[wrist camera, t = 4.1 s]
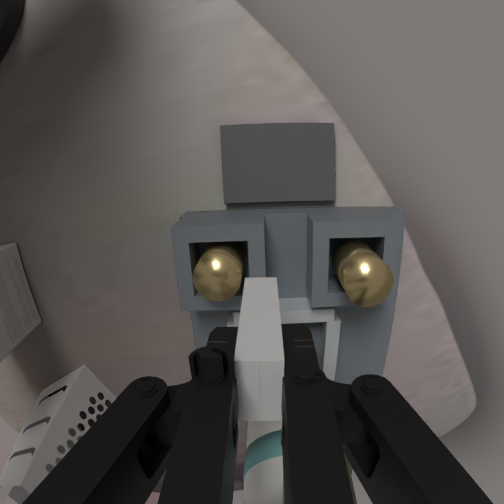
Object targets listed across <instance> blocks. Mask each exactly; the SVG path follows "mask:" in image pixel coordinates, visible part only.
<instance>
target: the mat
mask: <svg viewBox="0 0 504 504" xmlns="http://www.w3.org/2000/svg"><path fill="white" fill-rule="evenodd" d="M220 132H221V152H222V171H223V189H224V203H247V202H276V201H325V200H335V137H334V123H265V124H241V125H225V126H220Z"/></svg>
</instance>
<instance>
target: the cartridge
mask: <svg viewBox="0 0 504 504" xmlns="http://www.w3.org/2000/svg"><path fill="white" fill-rule="evenodd" d="M281 325H305V324H304V323H290V324H281ZM305 326H306V325H305ZM306 327H307V326H306ZM307 328H308V327H307ZM308 329H309V328H308ZM309 330H310V329H309ZM312 337H313V336H312ZM313 341H314V340H313ZM314 347H315V344H314ZM316 354H317V353H316ZM317 358H318V357H317ZM318 362H319V361H318ZM281 432H282V421H248V428H247V444H246V452H245V461H244V476H243V481H244V492H243V501H244V503H245V504H284V482H283V456H282V445H281Z"/></svg>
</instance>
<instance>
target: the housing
mask: <svg viewBox="0 0 504 504" xmlns="http://www.w3.org/2000/svg"><path fill="white" fill-rule="evenodd" d="M404 216H405V212H404V211H402V210H400V209H398V208H396V207H309V208H269V209H241V210H218V211H198V212H186V213H185V214H183V215H182V216H181V217H180V220H179V221H178V222H177V223H176V224H175V225H173V226H172V227H171V232H172V241H173V250H174V258H175V266H176V274H177V282H178V289H179V296H180V303H181V310H191V317H192V324H193V331H194V338H195V345H196V349H198V348H201V347H204V346H206V345H207V342H208V338H209V334H210V332H211V331H212V330H213V329H215V328H216V327H238V326H239V319H240V311H241V304H242V296H243V289H244V281H245V278H258V277H277V287H278V297H279V307H280V317H281V324H290V323H304V324H305V325H306V326H307V327H308V328H309V329H310V331H311V333H312V336H313V340H314V344H315V349H316V353H317V357H318V361H319V366H320V370H322V371H323V372H324V373H325V375H326V377H327V378H328V379H330V380H332V381H334V382H339V383H344V384H352V382H353V380H354V379H355V378H357V377H359V376H361V375H366V374H374V375H379V376H382V373H383V369H384V364H385V359H386V354H387V349H388V344H389V339H390V334H391V328H392V322H393V316H394V310H395V303H396V296H397V289H398V281H399V273H400V264H401V254H402V243H403V231H404ZM353 239H354V240H360V241H362V242H364V243H366V244H367V245H368V246H369V247H370V248H371V249H372V250H373V251H374V252H375V253H376V254H377V255H378V256H379V257H380V258H381V259H382V260H383V261H384V262H385V263H386V264H387V265H388V266H389V267H390V269H391V271H392V273H393V277H394V283H393V287H392V290H391V292H390V294H389V295H388V297H387V298H386V299H385V300H384V301H383V302H381V303H380V304H378V305H375V306H372V307H361V306H358V305H356V304H354V303H353V302H352V301H351V300H350V299H349V297H348V295H347V294H346V292H345V290H344V288H343V286H342V284H341V283H340V281H339V279H338V277H337V275H336V273H335V272H334V270H333V267H332V256H333V253H334V251H335V250H336V248H337V247H338V246H339V245H340V244H342V243H343V242H345V241H348V240H353ZM224 241H236V242H238V243H239V244H240V246H241V247H242V249H243V251H244V255H245V260H244V266H243V272H242V278H241V284H240V288H239V290H238V291H237V293H236V294H235V295H234V296H233V297H231V298H230V299H228V300H225V301H212V300H209V299H206V298H205V297H203V296H202V295H201V294H199V292H198V291H197V290H196V288H195V286H194V283H193V271H194V269H195V267H196V265H197V263H198V261H199V260H200V258H201V256H202V254H203V253H204V251H205V249H206V247H207V246H208V244H209V243H210V242H224Z"/></svg>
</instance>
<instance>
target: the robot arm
mask: <svg viewBox="0 0 504 504" xmlns="http://www.w3.org/2000/svg"><path fill="white" fill-rule="evenodd" d="M23 6H24V0H0V61H1V59H2V57H3V56H4V54H5V52H6V50H7V48H8V47H9V45H10V43H11V41H12V38H13V36H14V34H15V32H16V29H17V27H18V24H19V21H20V18H21V15H22V11H23ZM189 363H190V369H191V375H192V379H191V381H189V382H187V383H184V384H180V385H174V386H167V384H166V383H165V382H164V381H163V380H162V379H160V378H157V377H151V376H148V377H141V378H139V379H136V380H134V381H133V382H132V383H130V384H129V385H128V386H127V387H126V388H125V390H124V391H123V392H122V393H121V394H120V395H119V396H118V397H117V398H116V400H115V401H114V402H113V403H112V404H111V405H110V406H109V407H108V408H107V410H106V411H105V412H104V413H103V414H102V415H101V416H100V417H99V418H98V419H97V421H96V422H95V423H94V424H93V425H92V426H91V427H90V428H89V429H88V431H87V432H86V433H85V434H84V435H83V436H82V437H81V438H80V439H79V441H78V442H77V443H76V444H75V445H74V446H73V447H72V448H71V449H70V451H69V452H68V453H67V454H66V455H65V456H64V457H63V458H62V459H61V461H60V462H59V463H58V464H57V465H56V466H55V467H54V468H53V470H52V471H51V472H50V473H49V474H48V475H47V476H46V477H45V478H44V480H43V481H42V482H41V483H40V484H39V485H38V486H37V487H36V488H35V490H34V491H33V492H32V493H31V494H30V495H29V496H28V497H27V498H26V500H25V501H24V502H23V503H22V504H145V502H146V501H147V499H148V497H149V496H150V494H151V493H152V491H153V489H154V488H155V486H156V485H157V483H158V481H159V480H160V478H161V477H162V475H163V473H164V472H165V470H166V468H167V470H166V474H165V477H164V481H163V485H162V489H161V493H160V497H159V501H158V504H232V501H233V489H234V477H235V465H236V453H237V441H238V424H237V423H238V421H282V432H281V445H282V456H283V482H284V504H354V500H353V495H352V490H351V485H350V480H349V475H348V470H347V465H346V461H345V456H344V454H345V455H346V457H347V459H348V461H349V463H350V464H351V466H352V468H353V470H354V471H355V473H356V475H357V476H358V478H359V480H360V482H361V483H362V485H363V487H364V489H365V491H366V492H367V494H368V496H369V498H370V499H371V501H372V503H373V504H493V503H492V502H491V501H490V499H489V498H488V497H487V496H486V494H485V493H484V492H483V491H482V490H481V488H480V487H479V486H478V485H477V484H476V482H475V481H474V480H473V479H472V478H471V476H470V475H469V474H468V473H467V472H466V470H465V469H464V468H463V467H462V466H461V464H460V463H459V462H458V461H457V460H456V459H455V457H454V456H453V455H452V454H451V453H450V451H449V450H448V449H447V448H446V447H445V445H444V444H443V443H442V442H441V441H440V440H439V438H438V437H437V436H436V435H435V434H434V432H433V431H432V430H431V429H430V428H429V427H428V425H427V424H426V423H425V422H424V421H423V420H422V418H421V417H420V416H419V415H418V414H417V413H416V411H415V410H414V409H413V408H412V407H411V406H410V404H409V403H408V402H407V401H406V400H405V399H404V397H403V396H402V395H401V394H400V393H399V392H398V391H397V389H396V388H395V387H394V386H393V385H392V384H391V382H390V381H388V380H387V379H386V378H384V377H382V376H379V375H374V374H366V375H361V376H359V377H357V378H355V379H354V380H353V382H352V384H344V383H339V382H334V381H332V380H330V379H328V378H327V377H326V375H325V373H324V372H323V371H322V370H320V366H319V362H318V358H317V354H316V349H315V347H314V341H313V337H312V333H311V331H310V330H309V329H308V328H307V327H306V326H305V325H281V317H280V307H279V297H278V287H277V277H258V278H245V281H244V289H243V296H242V304H241V311H240V319H239V326H238V327H216V328H215V329H213V330H212V331H211V332H210V334H209V338H208V342H207V345H206V346H204V347H201V348H198V349H196V350H195V351H193V352H192V353H191V354H190V356H189Z"/></svg>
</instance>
